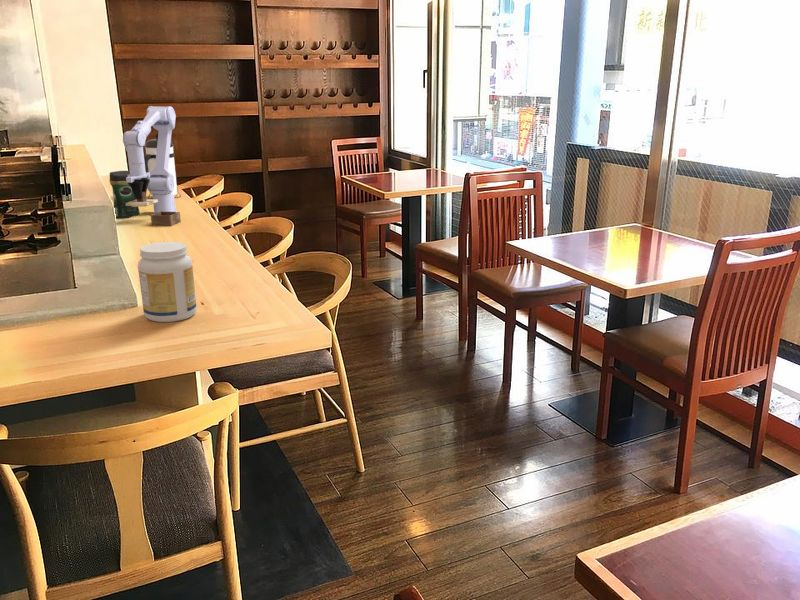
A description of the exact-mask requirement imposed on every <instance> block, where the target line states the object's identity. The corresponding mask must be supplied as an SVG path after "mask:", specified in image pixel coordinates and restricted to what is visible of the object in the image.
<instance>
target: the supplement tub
mask: <svg viewBox="0 0 800 600" xmlns="http://www.w3.org/2000/svg"><path fill="white" fill-rule="evenodd" d="M187 248H188V247H187V244H186V243H184V242H181V241H180V242H179V241H178V242H177V241H159V242H152V243H149V244H145V245H142V246H141V247H140V248H139V251H140V252H139V256H140V257H141V258H140V259H139V261H138V264H137V269H138V271H137V272H138V278H139V286H140V293H141V302H142V308H143V315H144V317H145V318H146V319H148V320H150V321H153V322H155V323H174V322H179V321H182V320H183V321H184V320H186V319H188V318H191V317H193V316H194V315H195V314H196V312H197V309H198V307H197V298H196V297H197V296H196V289H195V288H196V287H195V277H194V269H193V268H194V266H193V261H192V258H191V256H189V255H188V254H187V253H188V249H187Z"/></svg>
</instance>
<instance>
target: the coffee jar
mask: <svg viewBox="0 0 800 600" xmlns="http://www.w3.org/2000/svg"><path fill="white" fill-rule="evenodd" d="M129 174H130V170H117V171H110V172H109V184H110V186H111V188H112V195H113V197H112V198H113V209H114V208H115V214H116V217H115V218H117V219H118V218H119V219H129V218H133V217H137V216H139V215H140V208H139V207H132V206H126V203H128V202H131V201H134V200H137V199H136V198H135V196H134V193H133V191H132V189H131V187H130V186H129V184H128V182H127V181H126V177H128V175H129Z"/></svg>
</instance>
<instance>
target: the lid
mask: <svg viewBox="0 0 800 600" xmlns="http://www.w3.org/2000/svg"><path fill="white" fill-rule="evenodd" d="M156 202H158V199H153V198H152V199H151V198H149V199H148V198H147V192H146V193H145V192H142V199H141V200H139V199H136V200H134V201H131V202H128V203H126V206H132V207H138V208H139V207H148V206H151V205H153V203H156Z"/></svg>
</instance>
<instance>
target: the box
mask: <svg viewBox="0 0 800 600" xmlns="http://www.w3.org/2000/svg"><path fill="white" fill-rule="evenodd" d="M152 214H153V213H152ZM181 222H182V221H181V212H180V211H178V212H163V211H160V212H158V213H155V214H153V215H150V223H151V226H152V227H153V226H155V227H158V226H159V227H174V226H175V225H178V224H179V223H181Z"/></svg>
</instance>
